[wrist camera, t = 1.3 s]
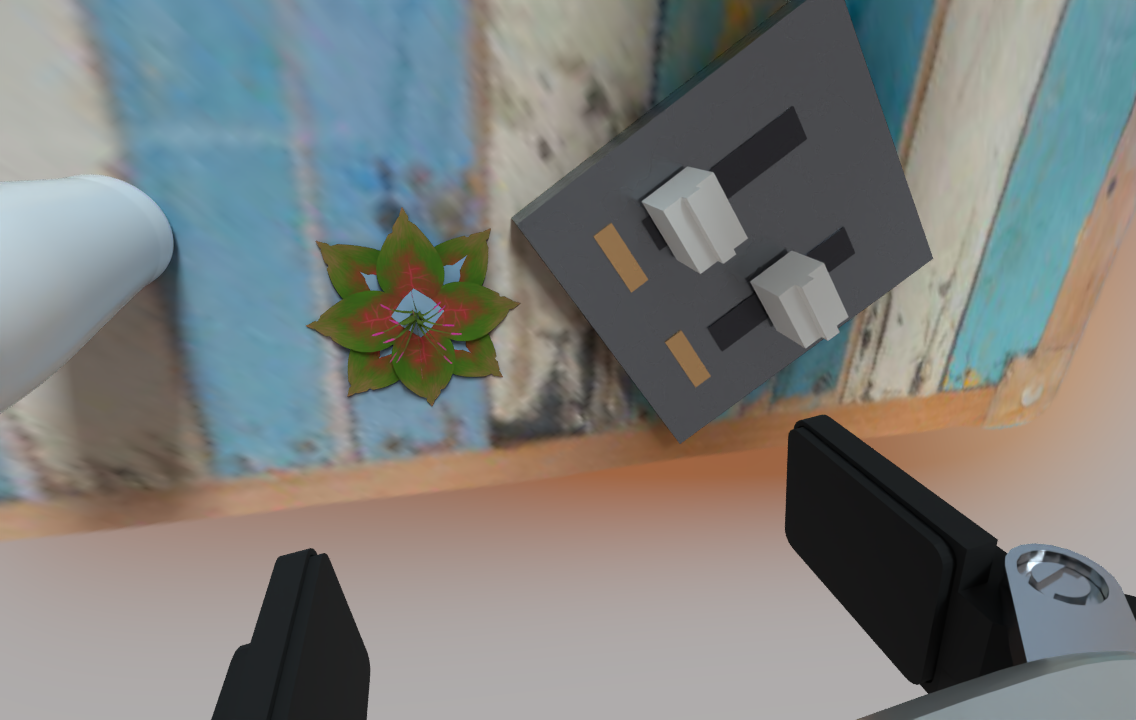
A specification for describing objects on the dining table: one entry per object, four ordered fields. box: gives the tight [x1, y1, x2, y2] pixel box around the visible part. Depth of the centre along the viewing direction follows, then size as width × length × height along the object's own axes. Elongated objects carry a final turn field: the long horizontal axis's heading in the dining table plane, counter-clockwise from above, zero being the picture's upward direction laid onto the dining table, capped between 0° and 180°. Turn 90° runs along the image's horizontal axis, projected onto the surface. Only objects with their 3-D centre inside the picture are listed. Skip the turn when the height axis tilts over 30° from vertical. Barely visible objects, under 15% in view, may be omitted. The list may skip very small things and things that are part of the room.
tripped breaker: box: [750, 251, 848, 349], centre depth 33 cm, size 3×4×4 cm
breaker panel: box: [512, 0, 933, 444], centre depth 34 cm, size 20×18×2 cm
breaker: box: [642, 166, 748, 274], centre depth 30 cm, size 3×4×4 cm
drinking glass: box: [0, 174, 174, 414], centre depth 21 cm, size 7×7×15 cm
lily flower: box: [306, 208, 520, 406], centre depth 31 cm, size 12×12×5 cm
